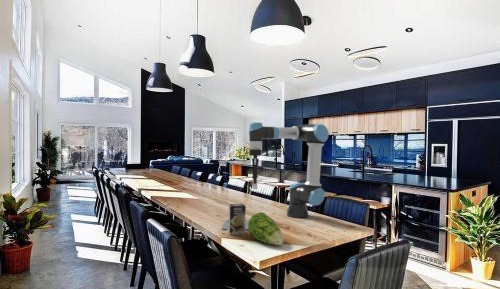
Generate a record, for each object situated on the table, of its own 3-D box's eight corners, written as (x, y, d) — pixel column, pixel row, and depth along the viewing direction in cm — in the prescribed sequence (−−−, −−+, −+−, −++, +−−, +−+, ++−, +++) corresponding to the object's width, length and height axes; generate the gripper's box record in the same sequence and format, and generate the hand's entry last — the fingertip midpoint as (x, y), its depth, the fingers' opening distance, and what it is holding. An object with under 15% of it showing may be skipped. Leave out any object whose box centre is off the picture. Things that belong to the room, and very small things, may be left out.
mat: (253, 222, 194) (253, 221, 194) (252, 230, 176) (252, 229, 176) (225, 221, 194) (225, 220, 194) (221, 229, 176) (221, 228, 176)
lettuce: (270, 258, 146) (271, 234, 143) (243, 235, 165) (244, 214, 161) (291, 249, 154) (293, 226, 150) (264, 228, 172) (264, 207, 169)
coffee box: (229, 235, 167) (230, 206, 167) (227, 231, 173) (227, 203, 173) (245, 234, 169) (245, 205, 169) (242, 230, 176) (243, 203, 175)
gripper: (249, 148, 183) (248, 187, 183) (248, 149, 170) (247, 190, 170) (261, 148, 183) (261, 187, 183) (261, 149, 169) (261, 191, 170)
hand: (254, 188), depth 176 cm, fingers closed
